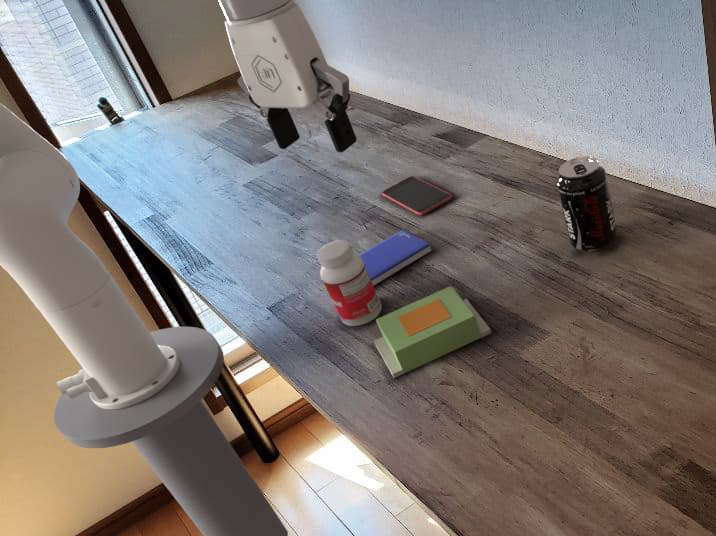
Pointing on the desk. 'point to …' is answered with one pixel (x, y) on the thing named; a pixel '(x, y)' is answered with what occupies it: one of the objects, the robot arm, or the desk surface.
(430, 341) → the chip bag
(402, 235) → the hard drive
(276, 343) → the desk surface
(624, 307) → the desk surface
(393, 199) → the smartphone
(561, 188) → the beverage can
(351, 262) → the pill bottle
